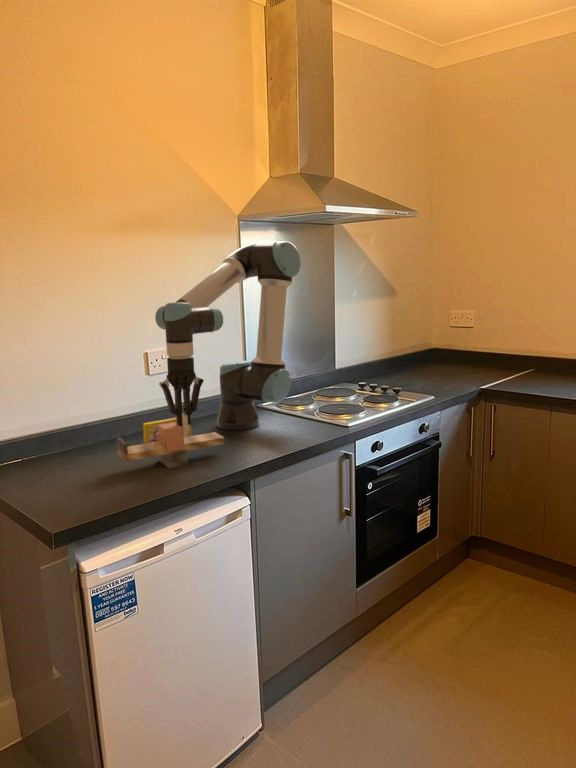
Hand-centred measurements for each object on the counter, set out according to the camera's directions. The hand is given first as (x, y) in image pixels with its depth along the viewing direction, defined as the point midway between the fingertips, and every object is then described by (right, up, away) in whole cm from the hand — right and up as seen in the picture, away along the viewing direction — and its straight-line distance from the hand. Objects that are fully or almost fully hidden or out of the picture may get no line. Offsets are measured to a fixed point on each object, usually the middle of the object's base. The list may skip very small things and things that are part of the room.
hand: (184, 435), depth 175 cm
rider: (-4, -3, -2) cm, 5 cm away
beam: (-3, -8, 0) cm, 8 cm away
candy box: (-8, -5, +18) cm, 21 cm away
